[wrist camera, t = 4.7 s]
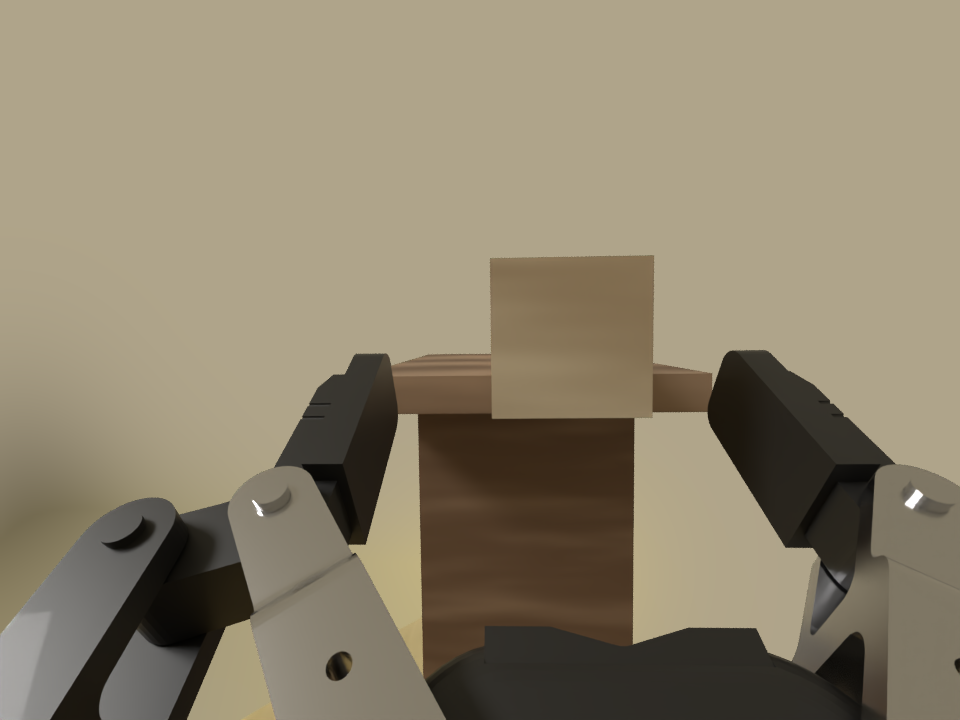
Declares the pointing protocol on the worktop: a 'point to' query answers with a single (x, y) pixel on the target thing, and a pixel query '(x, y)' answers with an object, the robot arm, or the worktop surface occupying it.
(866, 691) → the robot arm
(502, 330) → the bar
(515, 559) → the stand
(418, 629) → the worktop surface
